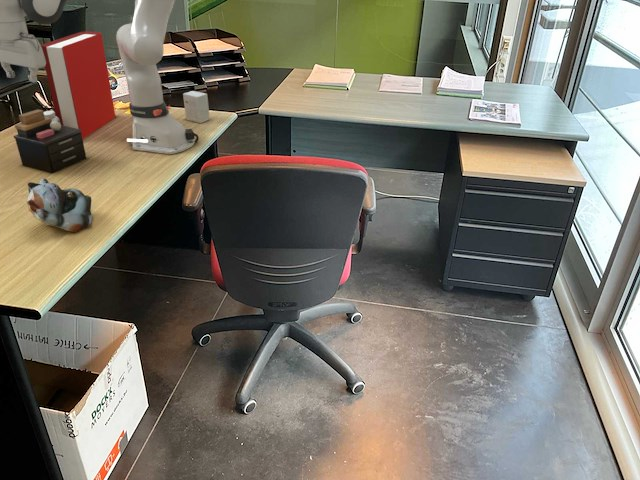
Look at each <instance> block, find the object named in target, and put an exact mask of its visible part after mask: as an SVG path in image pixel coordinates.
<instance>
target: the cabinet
mask: <svg viewBox="0 0 640 480" xmlns="http://www.w3.org/2000/svg"><path fill="white" fill-rule="evenodd" d="M51 130H52V129H51ZM81 132H82V130H80V129H76V128H72V127H67V126H63V125H61V129H60V130H59V131H54V135H51V136H48V137H45V138H43V139H40V138H37V135H36V134H34V135H31V136H28V137H26V136H22V135H18V134H15V135H13V138H14V139H15V143H16V147H17V151H18V155H19V158H20V161H21V166H22V167H26V168H28V169H29V168H30V169H33V170H36V171H41V172H44V173H49V174H51V175H52V174H55V173H57V172H59V171H61V170H64V169H66V168H68V167H71V166H73V165H75V164H78V163H80V162H82V161H85V160H87V155H86V150H85V145H84V140H83V139H84V138H83V139H82V135H81Z"/></svg>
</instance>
